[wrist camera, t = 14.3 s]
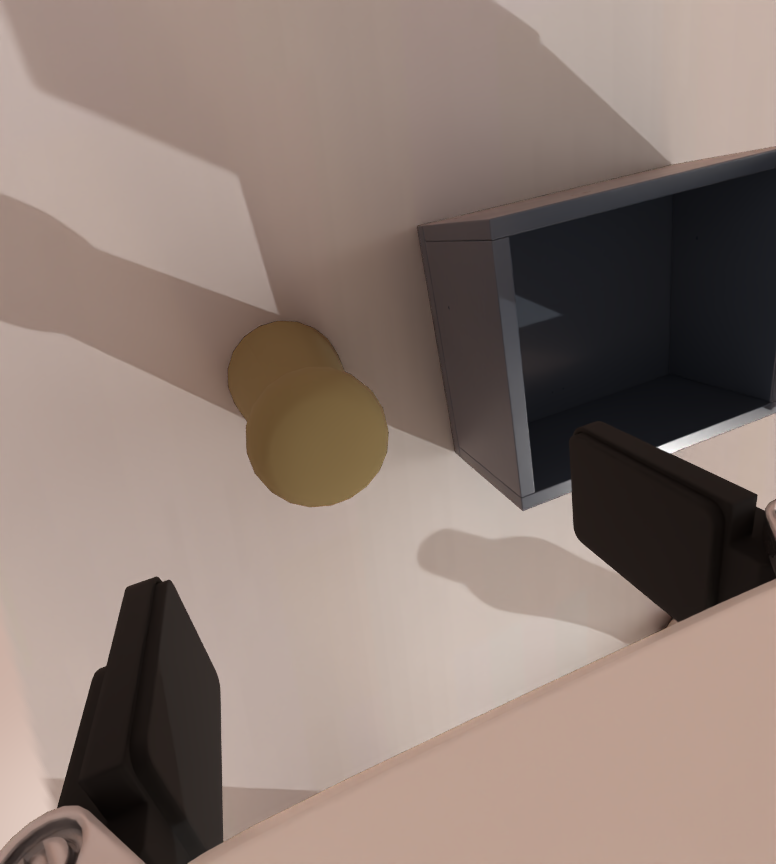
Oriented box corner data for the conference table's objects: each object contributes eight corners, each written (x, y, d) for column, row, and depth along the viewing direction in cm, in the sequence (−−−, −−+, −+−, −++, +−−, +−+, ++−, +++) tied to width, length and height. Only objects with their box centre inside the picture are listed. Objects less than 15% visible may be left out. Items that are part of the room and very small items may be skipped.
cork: (358, 400, 29) (434, 482, 19) (261, 449, 28) (287, 562, 18) (313, 301, 26) (373, 335, 16) (204, 352, 25) (198, 421, 15)
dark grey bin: (455, 453, 32) (522, 511, 25) (416, 225, 26) (489, 219, 19) (668, 378, 35) (780, 411, 28) (673, 164, 30) (813, 139, 23)
